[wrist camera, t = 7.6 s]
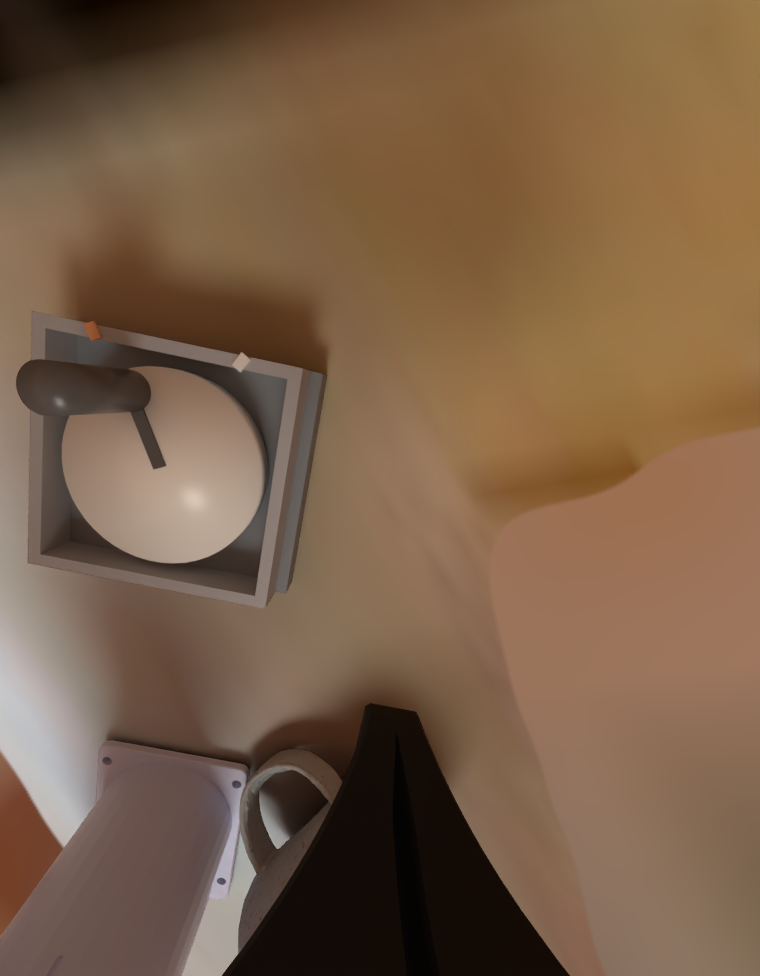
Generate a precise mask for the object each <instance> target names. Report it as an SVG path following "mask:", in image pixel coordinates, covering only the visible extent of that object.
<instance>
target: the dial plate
mask: <svg viewBox="0 0 760 976" xmlns="http://www.w3.org/2000/svg"><path fill="white" fill-rule="evenodd" d="M35 359H44V360H53V361H61V362H70V363H79V364H87V365H96V366H105V367H113V368H122V369H129V368H133V367H143V366H155V367H166V368H173V369H179V370H184V371H189V372H192V373H195V374H198V375H201V376H203V377H205V378H207V379H209V380H211V381H213V382H215V383H217V384H218V385H220V386H221V387H223V388H224V389H226V390H227V391H228V392H229V393H230V394H232V395H233V396H234V397H235V398H236V399H237V400H238V401H239V402H240V403H241V404H242V405H243V406H244V408H245V409H246V410H247V412H248V413H249V414H250V416H251V417H252V419H253V421H254V422H255V424H256V426H257V428H258V430H259V432H260V435H261V437H262V440H263V442H264V446H265V450H266V454H267V462H268V482H267V489H266V493H265V497H264V500H263V503H262V505H261V507H260V510H259V512H258V513H257V515H256V517H255V518H254V520H253V521H252V522H251V524H250V525H249V526H248V527H247V528H246V530H245V531H243V532H242V533H241V534H240V535H239V536H238V537H237V538H236V539H235V540H234V541H233V542H231V543H230V544H229V545H228V546H226V547H225V548H224V549H222V550H221V551H219V552H217V553H215V554H213V555H211V556H209V557H206V558H203V559H200V560H197V561H192V562H186V563H160V562H154V561H149V560H145V559H142V558H139V557H136V556H134V555H131V554H129V553H127V552H124V551H123V550H121V549H119V548H118V547H116V546H114V545H113V544H111V543H110V542H109V541H107V540H106V539H104V538H103V537H102V536H101V535H100V534H99V533H98V532H97V531H95V530H94V529H93V528H92V526H91V525H90V524H89V523H88V522H87V521H86V520H85V518H84V517H83V515H82V514H81V513H80V511H79V510H78V508H77V506H76V505H75V503H74V501H73V499H72V497H71V495H70V492H69V490H68V487H67V484H66V481H65V477H64V473H63V466H62V440H63V434H64V430H65V427H66V423H67V420H68V418H69V416H70V415H66V416H42V415H39V414H37V413H35V412H33V411H31V410H30V458H29V521H28V563H30V564H35V565H41V566H46V567H51V568H56V569H61V570H66V571H72V572H77V573H82V574H87V575H92V576H98V577H103V578H108V579H113V580H118V581H123V582H129V583H134V584H139V585H144V586H149V587H154V588H160V589H165V590H170V591H175V592H180V593H185V594H191V595H196V596H201V597H206V598H211V599H217V600H222V601H227V602H232V603H237V604H242V605H248V606H253V607H258V608H263V609H265V608H266V606H267V605H268V603H269V601H270V599H271V598H272V596H273V594H274V592H275V591H276V592H281V593H286V592H287V590H288V588H289V586H290V584H291V582H292V578H293V572H294V566H295V560H296V554H297V548H298V542H299V537H300V531H301V525H302V519H303V513H304V507H305V501H306V496H307V490H308V484H309V478H310V472H311V466H312V460H313V455H314V449H315V443H316V437H317V431H318V425H319V419H320V414H321V408H322V402H323V396H324V390H325V384H326V378H327V375H325V374H321V373H317V372H312V371H309V370H306V369H303V368H299V367H294V366H289V365H285V364H280V363H275V362H271V361H266V360H261V359H256V358H252V357H247V356H246V355H245V354H244V353H243V352H241V353H240V355H238V354H233V353H228V352H223V351H219V350H214V349H209V348H205V347H200V346H195V345H190V344H186V343H181V342H176V341H171V340H167V339H162V338H157V337H153V336H148V335H143V334H138V333H134V332H129V331H124V330H120V329H115V328H110V327H105V326H101V325H96V322H95V321H91V322H88V323H87V322H82V321H77V320H72V319H68V318H63V317H58V316H53V315H49V314H44V313H39V312H35V311H32V333H31V360H35Z"/></svg>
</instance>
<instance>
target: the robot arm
mask: <svg viewBox="0 0 760 976" xmlns="http://www.w3.org/2000/svg"><path fill="white" fill-rule="evenodd" d="M248 777H249V769H248V767H247V766H245V765H244V764H241V763H235V762H230V761H224V760H219V759H213V758H208V757H202V756H196V755H191V754H185V753H180V752H174V751H169V750H163V749H158V748H152V747H147V746H141V745H136V744H130V743H125V742H119V741H114V740H109V741H106V742H105V743H104V744H103V745H102V746H101V747H100V749H99V758H98V773H97V789H96V804H95V806H94V807H93V808H92V810H91V811H90V813H89V814H88V815H87V817H86V818H85V820H84V821H83V822H82V824H81V825H80V827H79V828H78V829H77V831H76V832H75V834H74V835H73V836H72V838H71V839H70V840H69V842H68V843H67V845H66V846H65V847H64V849H63V850H62V852H61V853H60V855H59V856H58V857H57V859H56V860H55V861H54V863H53V864H52V866H51V867H50V869H49V870H48V871H47V873H46V874H45V875H44V877H43V878H42V880H41V881H40V882H39V884H38V886H37V887H36V888H35V889H34V891H33V892H32V894H31V895H30V896H29V898H28V899H27V900H26V902H25V903H24V905H23V906H22V908H21V909H20V910H19V912H18V913H17V914H16V916H15V917H14V919H13V920H12V921H11V923H10V924H9V926H8V927H7V928H6V930H5V931H4V933H3V934H2V935H1V937H0V976H182V973H183V970H184V967H185V964H186V962H187V959H188V956H189V953H190V950H191V947H192V945H193V942H194V939H195V936H196V933H197V931H198V928H199V925H200V922H201V919H202V916H203V914H204V911H205V908H206V905H207V902H208V900H209V898H211V899H217V900H222V899H225V898H226V897H227V896H228V894H229V890H230V886H231V880H232V874H233V868H234V862H235V856H236V850H237V844H238V838H239V831H240V820H239V806H240V799H241V795H242V792H243V789H244V787H245V786H246V784H247V782H248ZM236 780H237V781H236ZM238 781H240V782H238ZM222 976H570V975H569V974H568V973H567V972H566V970H565V969H564V968H563V967H562V965H561V964H560V963H559V961H558V960H557V959H556V957H555V956H554V955H553V953H552V952H551V950H550V949H549V948H548V946H547V945H546V944H545V942H544V941H543V939H542V938H541V937H540V935H539V934H538V933H537V931H536V930H535V928H534V927H533V926H532V924H531V923H530V922H529V920H528V919H527V917H526V916H525V915H524V913H523V912H522V911H521V909H520V908H519V906H518V905H517V903H516V902H515V900H514V899H513V897H512V896H511V894H510V893H509V891H508V890H507V888H506V887H505V885H504V884H503V882H502V881H501V879H500V877H499V876H498V874H497V873H496V871H495V869H494V868H493V866H492V864H491V863H490V861H489V860H488V858H487V856H486V855H485V853H484V851H483V850H482V848H481V846H480V845H479V843H478V841H477V839H476V838H475V836H474V834H473V832H472V830H471V829H470V827H469V825H468V823H467V821H466V819H465V818H464V816H463V814H462V812H461V810H460V808H459V806H458V804H457V802H456V800H455V798H454V796H453V794H452V792H451V790H450V788H449V786H448V784H447V782H446V780H445V778H444V776H443V774H442V772H441V769H440V767H439V765H438V763H437V761H436V758H435V756H434V754H433V751H432V749H431V747H430V744H429V742H428V739H427V737H426V735H425V732H424V730H423V727H422V724H421V722H420V719H419V716H418V715H417V713H416V712H414V711H409V710H403V709H398V708H393V707H387V706H382V705H377V704H371V703H370V704H368V705H367V706H365V710H364V714H363V719H362V723H361V727H360V732H359V736H358V740H357V745H356V749H355V752H354V755H353V758H352V760H351V763H350V765H349V768H348V770H347V773H346V775H345V777H344V780H343V782H342V784H341V786H340V788H339V790H338V792H337V795H336V797H335V799H334V801H333V803H332V805H331V807H330V809H329V811H328V813H327V815H326V817H325V819H324V821H323V823H322V825H321V826H320V828H319V830H318V832H317V834H316V835H315V837H314V839H313V841H312V843H311V844H310V846H309V848H308V850H307V851H306V853H305V855H304V856H303V858H302V860H301V861H300V863H299V865H298V866H297V868H296V870H295V871H294V873H293V875H292V876H291V878H290V879H289V881H288V882H287V884H286V886H285V887H284V889H283V890H282V892H281V893H280V895H279V896H278V898H277V899H276V901H275V902H274V904H273V905H272V907H271V908H270V909H269V911H268V912H267V914H266V915H265V917H264V918H263V920H262V921H261V923H260V924H259V926H258V927H257V929H256V930H255V931H254V933H253V934H252V936H251V937H250V939H249V940H248V941H247V943H246V944H245V946H244V947H243V948H242V950H241V951H240V952H239V954H238V955H237V956H236V958H235V959H234V960H233V962H232V963H231V964H230V966H229V967H228V968H227V970H226V971H225V972H224V973H223V975H222Z"/></svg>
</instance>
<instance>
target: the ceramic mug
mask: <svg viewBox="0 0 760 976" xmlns="http://www.w3.org/2000/svg"><path fill="white" fill-rule="evenodd" d="M286 770H287V771H288V770H294V771H297V772H299V773H300V774H302V775H304V776H306V777H307V778H308V779H309V780H310V781H311V782H312V783H313V784H314V785H315V786H316V787H317V788H318V789H319V790H320V791H321V793H322V795H323V796H324V797H325V798H326V799H327V800H328V801H329V802H328V803H327V804H326V805H325V806H324V807H323V808H322V809H321V810H320V812H319V813H318V814H317V815H315V816H314V817H313V818H312V819H311V820H310V821H309V823H307V824H306V825H305V826H304V827H303V828H302V829H301V830H299V831H298V832H297V833H296V834H295V835H294V836H292V837H291V838H290V839H289V840H288V841H286V842H285V844H284V845H283V846H282V847H281V848H280V849H276V847H275V846H274V845H273V843H272V841H271V839H270V837H269V834H268V832H267V830H266V827H265V825H264V823H263V819H262V816H261V812H260V804H259V791H260V788H261V786H262V784H263V783H264V782H265V781H266V780H267V779H268V778H270V777H271V776H272V775H273V774H275V773H280V772H285V771H286ZM341 784H342V780H341V779H340V777H339V776H338V774H337V773H336V772H335V770H334V769H333V768H332V766H330V765H329V764H327V763H326V762H324V761H323V760H322V759H321V758H319V757H318V756H316V754H314V753H312V752H309V751H307V750H302V749H289V750H284V751H281V752H278V753H277V754H275V755H274V756H272V757H271V758H270V759H269V760H267V761H266V762H265V763H264V764H263V765H262V766H261V767H260V768H259V769H258V770H257V771H256V772H255V773H254V774H253V775H252V776H251V778H250V779H249V781H248V782H247V784H246V786H245V787H244V789H243V792H242V795H241V799H240V806H239V820H240V828H241V835H242V838H243V842H244V845H245V849H246V852H247V855H248V857H249V859H250V861H251V863H252V865H253V867H254V869H255V871H256V873H257V874H256V876H255V878H254V880H253V882H252V884H251V886H250V889H249V891H248V893H247V896H246V898H245V901H244V904H243V909H242V914H241V919H240V924H239V934H238V953H239V952H240V951H241V950H242V948H243V947H244V946H245V944H246V943H247V941H248V940H249V939H250V937H251V936H252V934H253V933H254V931H255V930H256V929H257V927H258V926H259V924H260V923H261V921H262V920H263V918H264V917H265V915H266V914H267V912H268V911H269V909H270V908H271V907H272V905H273V904H274V902H275V901H276V899H277V898H278V896H279V895H280V893H281V892H282V890H283V889H284V887H285V886H286V884H287V882H288V881H289V879H290V878H291V876H292V875H293V873H294V871H295V870H296V868H297V866H298V865H299V863H300V861H301V860H302V858H303V856H304V855H305V853H306V851H307V850H308V848H309V846H310V844H311V843H312V841H313V839H314V837H315V835H316V834H317V832H318V830H319V828H320V826H321V825H322V823H323V821H324V819H325V817H326V815H327V813H328V811H329V809H330V807H331V805H332V803H333V801H334V799H335V797H336V795H337V792H338V790H339V788H340V786H341Z"/></svg>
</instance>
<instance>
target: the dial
mask: <svg viewBox="0 0 760 976" xmlns="http://www.w3.org/2000/svg"><path fill="white" fill-rule="evenodd" d="M16 387H17V391H18V394H19V396H20V398H21V400H22V402H23V403H24V404H25V405H26V406H27V407H28V408H29V409H30V410H31V411H33V412H35V413H37V414H39V415H42V416H66V415H70V416H69V418H68V420H67V423H66V427H65V430H64V434H63V440H62V466H63V473H64V477H65V481H66V484H67V487H68V490H69V492H70V495H71V497H72V499H73V501H74V503H75V505H76V506H77V508H78V510H79V511H80V513H81V514H82V515H83V517H84V518H85V520H86V521H87V522H88V523H89V524H90V525H91V526H92V528H93V529H94V530H95V531H97V532H98V533H99V534H100V535H101V536H102V537H103V538H104V539H106V540H107V541H109V542H110V543H111V544H113V545H114V546H116V547H118V548H119V549H121V550H123V551H124V552H127V553H129V554H131V555H134V556H136V557H139V558H142V559H145V560H149V561H154V562H160V563H186V562H192V561H197V560H200V559H203V558H206V557H209V556H211V555H213V554H215V553H217V552H219V551H221V550H222V549H224V548H225V547H226V546H228V545H229V544H230V543H231V542H233V541H234V540H235V539H236V538H237V537H238V536H239V535H240V534H241V533H242V532H243V531H245V530H246V528H247V527H248V526H249V525H250V524H251V522H252V521H253V520H254V518H255V517H256V515H257V513H258V512H259V510H260V507H261V505H262V503H263V500H264V497H265V493H266V489H267V482H268V462H267V454H266V450H265V446H264V442H263V440H262V437H261V435H260V432H259V430H258V428H257V426H256V424H255V422H254V421H253V419H252V417H251V416H250V414H249V413H248V412H247V410H246V409H245V408H244V406H243V405H242V404H241V403H240V402H239V401H238V400H237V399H236V398H235V397H234V396H233V395H232V394H230V393H229V392H228V391H227V390H226V389H224V388H223V387H221V386H220V385H218V384H217V383H215V382H213V381H211V380H209V379H207V378H205V377H203V376H201V375H198V374H195V373H192V372H189V371H184V370H179V369H173V368H166V367H155V366H143V367H133V368H129V369H122V368H113V367H105V366H96V365H87V364H79V363H70V362H61V361H53V360H44V359H35V360H31V361H29V362H27V363H25V364H24V365H23V366H22V367H21V368H20V370H19V372H18V374H17V379H16Z"/></svg>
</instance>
